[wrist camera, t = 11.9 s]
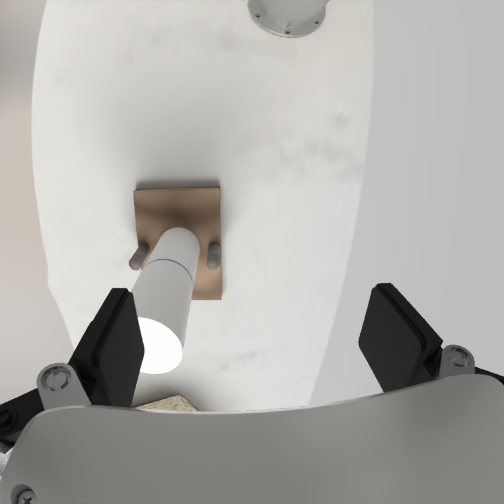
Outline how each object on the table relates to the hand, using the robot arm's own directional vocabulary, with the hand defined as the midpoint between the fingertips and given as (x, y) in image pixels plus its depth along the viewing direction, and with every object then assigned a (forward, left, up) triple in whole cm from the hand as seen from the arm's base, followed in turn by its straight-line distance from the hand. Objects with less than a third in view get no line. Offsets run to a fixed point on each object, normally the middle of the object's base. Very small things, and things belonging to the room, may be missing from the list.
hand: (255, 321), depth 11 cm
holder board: (+12, -9, -38) cm, 41 cm away
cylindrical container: (+12, -9, -37) cm, 40 cm away
